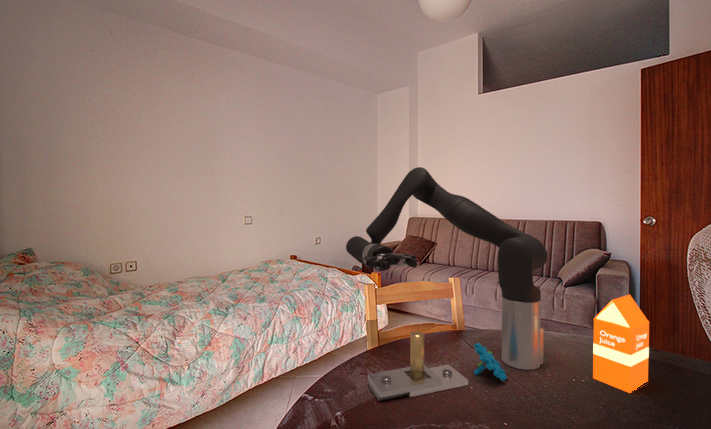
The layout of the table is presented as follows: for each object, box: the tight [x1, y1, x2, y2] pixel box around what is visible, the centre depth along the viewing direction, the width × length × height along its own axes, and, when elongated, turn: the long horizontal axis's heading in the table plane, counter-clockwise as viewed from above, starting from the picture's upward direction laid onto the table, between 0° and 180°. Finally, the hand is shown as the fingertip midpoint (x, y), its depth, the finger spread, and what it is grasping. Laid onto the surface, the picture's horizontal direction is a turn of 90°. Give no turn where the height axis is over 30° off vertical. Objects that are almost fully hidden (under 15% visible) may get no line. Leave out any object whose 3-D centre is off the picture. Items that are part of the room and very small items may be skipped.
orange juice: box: [592, 294, 650, 394], centre depth 81 cm, size 8×9×20 cm
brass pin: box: [409, 331, 425, 382], centre depth 80 cm, size 3×3×12 cm
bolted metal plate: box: [367, 363, 469, 402], centre depth 80 cm, size 22×8×3 cm, turn 108°
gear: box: [473, 342, 508, 382], centre depth 84 cm, size 11×6×10 cm
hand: (401, 264), depth 90 cm, fingers open, 8 cm apart
